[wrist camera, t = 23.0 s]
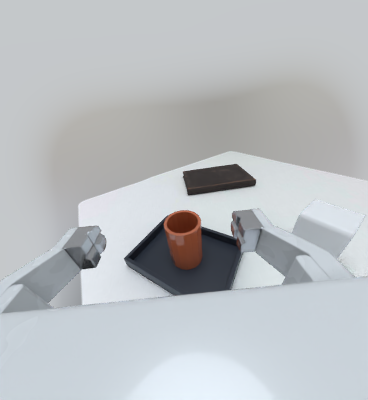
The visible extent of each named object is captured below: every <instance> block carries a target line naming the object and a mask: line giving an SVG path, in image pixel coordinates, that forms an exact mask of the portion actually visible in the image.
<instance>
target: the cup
mask: <svg viewBox="0 0 368 400" xmlns="http://www.w3.org/2000/svg"><path fill="white" fill-rule="evenodd" d="M164 228H165V232H166V237H167V241H168V245H169V249H170V254H171V258H172V261H173V263H174V265H175V266H177V267H178V268H180V269H184V270H189V269H193V268H195V267H196V266H198V265H199V264H200V262H201V260H202V257H203V250H202V230H201V219H200V217H199V215H197V214H196V213H195V212H192V211H188V210H182V211H177V212H174V213H172V214H170V215H169V216H168V217H167V218H166V219H165V222H164Z"/></svg>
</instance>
